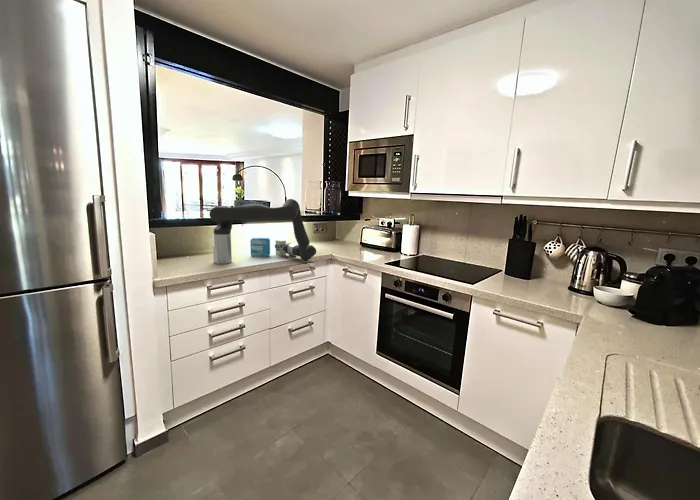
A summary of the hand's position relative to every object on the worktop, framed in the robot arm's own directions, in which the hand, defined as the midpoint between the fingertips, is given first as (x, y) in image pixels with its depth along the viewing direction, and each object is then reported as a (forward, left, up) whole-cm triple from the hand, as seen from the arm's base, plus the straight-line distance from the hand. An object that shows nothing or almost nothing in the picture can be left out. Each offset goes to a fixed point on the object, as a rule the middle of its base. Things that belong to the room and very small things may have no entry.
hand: (278, 245), depth 214 cm
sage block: (0, -3, -6) cm, 7 cm away
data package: (-13, +1, -6) cm, 15 cm away
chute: (0, -12, -6) cm, 13 cm away
